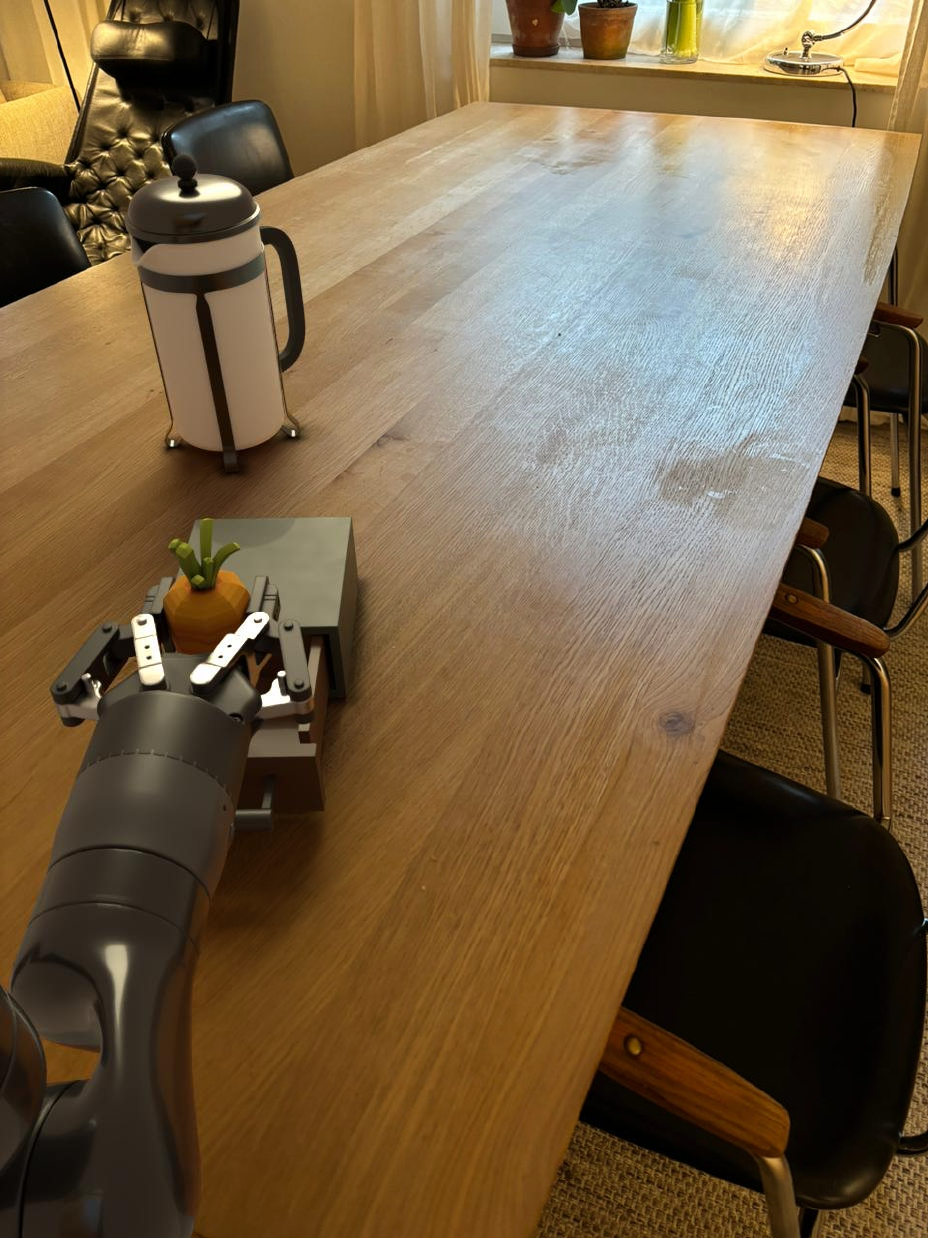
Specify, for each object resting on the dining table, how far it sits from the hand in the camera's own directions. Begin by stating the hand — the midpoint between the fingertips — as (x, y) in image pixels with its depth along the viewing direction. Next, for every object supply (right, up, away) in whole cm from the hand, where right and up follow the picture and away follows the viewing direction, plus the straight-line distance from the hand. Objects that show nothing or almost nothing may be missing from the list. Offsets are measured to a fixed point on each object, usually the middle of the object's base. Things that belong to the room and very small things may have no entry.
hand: (217, 588), depth 59 cm
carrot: (0, -9, +4) cm, 10 cm away
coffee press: (-11, +19, +53) cm, 57 cm away
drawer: (-1, -13, +14) cm, 19 cm away
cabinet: (-2, -4, +26) cm, 26 cm away
